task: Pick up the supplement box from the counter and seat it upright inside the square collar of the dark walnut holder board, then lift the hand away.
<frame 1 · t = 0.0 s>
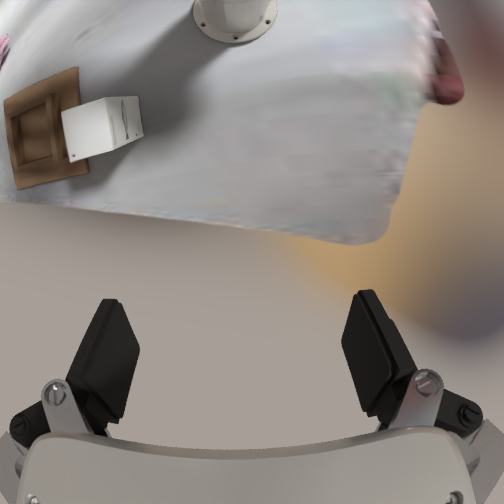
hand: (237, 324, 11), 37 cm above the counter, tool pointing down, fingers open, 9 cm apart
walnut holder: (41, 131, 36), on the counter
supplement box: (122, 120, 38), on the counter
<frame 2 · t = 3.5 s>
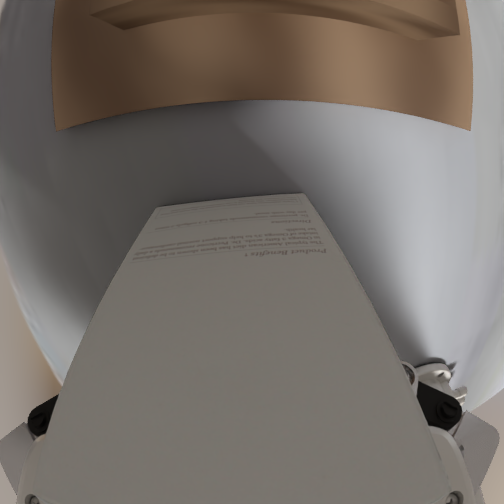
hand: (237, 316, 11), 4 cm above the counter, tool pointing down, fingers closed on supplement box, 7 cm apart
supplement box: (238, 260, 15), on the counter, touching gripper
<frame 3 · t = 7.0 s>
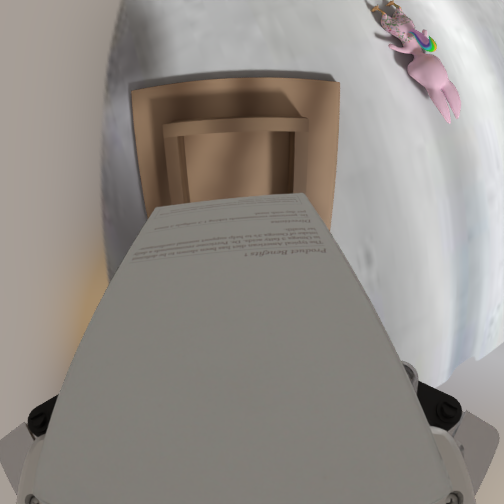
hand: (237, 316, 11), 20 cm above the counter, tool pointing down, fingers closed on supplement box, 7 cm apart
walnut holder: (237, 175, 28), on the counter
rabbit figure: (412, 61, 21), on the counter
supplement box: (237, 260, 15), point 16 cm above the counter, touching gripper
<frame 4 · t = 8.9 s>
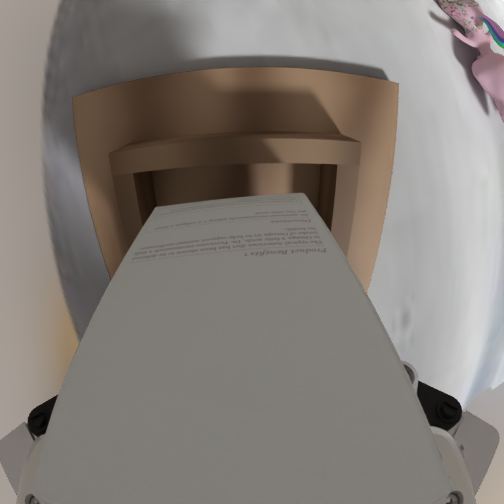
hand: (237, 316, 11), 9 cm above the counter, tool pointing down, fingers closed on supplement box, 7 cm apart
walnut holder: (238, 224, 19), on the counter
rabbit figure: (473, 59, 12), on the counter
supplement box: (237, 260, 15), point 5 cm above the counter, touching gripper
when the fingers open (6 cm above the counter, at t = 10.5 s): supplement box drops 1 cm, resting on walnut holder.
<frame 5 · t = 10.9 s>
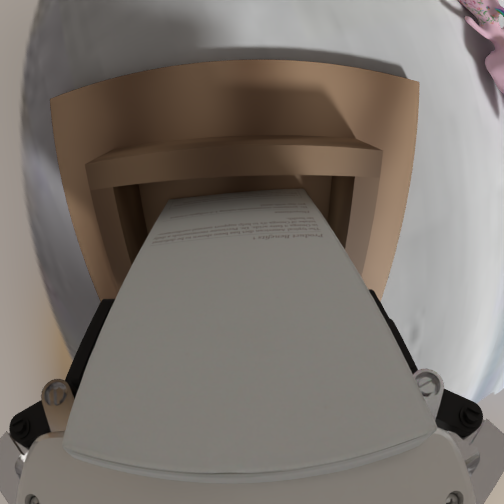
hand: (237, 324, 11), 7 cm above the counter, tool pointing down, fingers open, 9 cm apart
walnut holder: (237, 239, 16), on the counter
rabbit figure: (486, 55, 10), on the counter
supplement box: (242, 250, 16), point 1 cm above the counter, touching walnut holder
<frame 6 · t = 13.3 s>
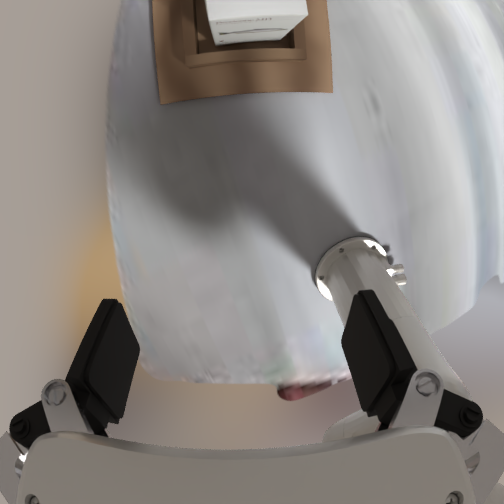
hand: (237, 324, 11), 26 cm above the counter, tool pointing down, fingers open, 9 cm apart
walnut holder: (241, 17, 23), on the counter
supplement box: (244, 17, 22), point 1 cm above the counter, touching walnut holder
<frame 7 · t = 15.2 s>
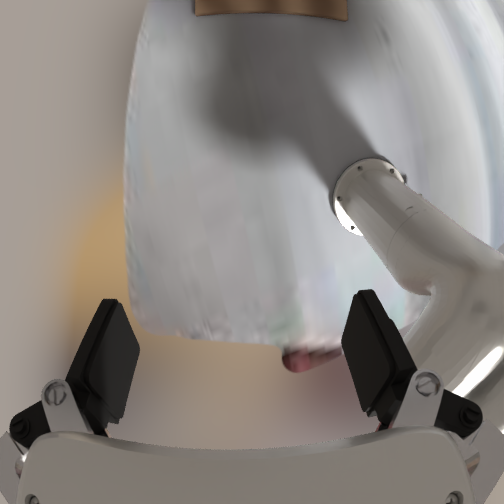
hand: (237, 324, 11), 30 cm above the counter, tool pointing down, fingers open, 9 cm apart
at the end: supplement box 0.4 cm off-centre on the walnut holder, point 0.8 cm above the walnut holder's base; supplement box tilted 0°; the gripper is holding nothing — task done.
